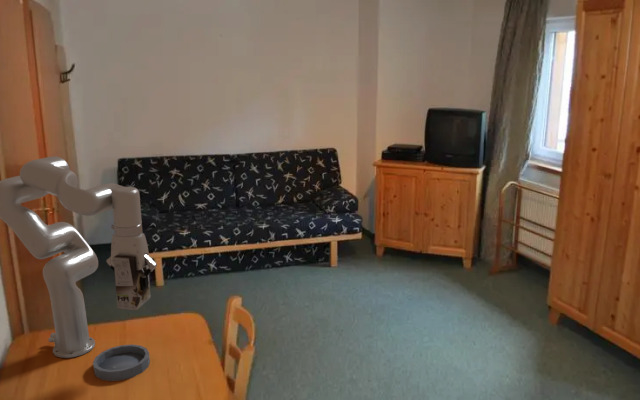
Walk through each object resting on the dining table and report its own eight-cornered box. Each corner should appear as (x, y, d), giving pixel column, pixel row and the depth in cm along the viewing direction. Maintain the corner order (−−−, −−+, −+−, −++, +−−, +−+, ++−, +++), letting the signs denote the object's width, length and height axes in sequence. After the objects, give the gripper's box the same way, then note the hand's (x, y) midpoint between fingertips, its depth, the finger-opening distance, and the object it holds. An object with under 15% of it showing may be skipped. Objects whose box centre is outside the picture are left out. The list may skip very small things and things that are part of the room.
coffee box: (137, 310, 164) (133, 258, 160) (116, 308, 165) (112, 256, 161) (151, 297, 173) (148, 247, 169) (132, 296, 174) (128, 246, 170)
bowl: (83, 376, 167) (81, 367, 166) (115, 350, 182) (114, 342, 181) (129, 383, 163) (128, 374, 162) (159, 356, 177) (158, 347, 177)
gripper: (94, 231, 162) (99, 289, 166) (148, 236, 158) (153, 295, 162) (109, 223, 169) (114, 279, 173) (162, 228, 165) (166, 285, 169)
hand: (133, 286), depth 168 cm, fingers closed on coffee box, 6 cm apart
